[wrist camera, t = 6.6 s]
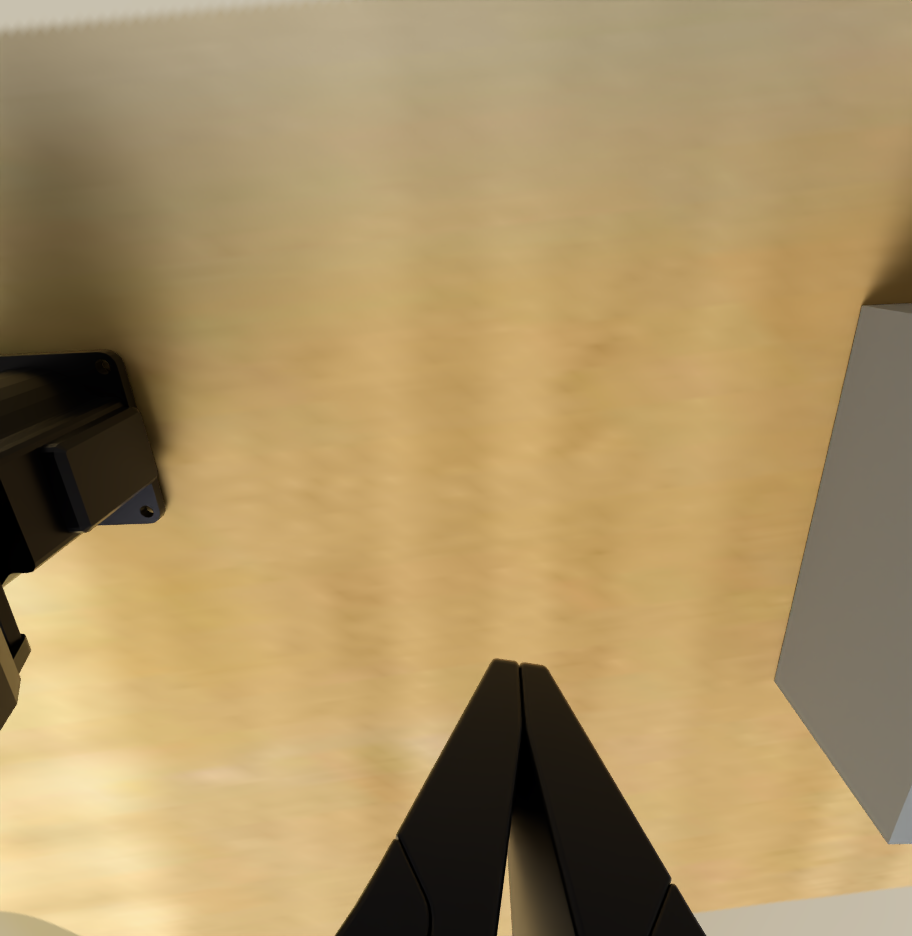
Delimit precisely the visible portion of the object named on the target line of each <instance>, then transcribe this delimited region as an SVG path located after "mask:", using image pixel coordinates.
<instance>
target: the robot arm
mask: <svg viewBox="0 0 912 936" xmlns="http://www.w3.org/2000/svg"><path fill="white" fill-rule="evenodd" d="M103 360H105V361H107V362H108V363H109V365H110V371H108V370H106V369H105V368H104V366H103V365H102V361H103ZM157 476H158V472H157V468H156V465H155V461H154V458H153V454H152V451H151V447H150V444H149V440H148V437H147V433H146V430H145V426H144V423H143V419H142V416H141V413H140V412H139V411H138V410H137V407H136V403H135V400H134V396H133V393H132V389H131V386H130V382H129V379H128V376H127V372H126V369H125V365H124V362H123V360H122V358H121V357H120V356H119V355H118V354H117V353H115V352H113V351H111V350H88V351H67V352H46V353H24V354H3V355H0V730H1V729H2V727H3V725H4V724H5V722H6V721H7V719H8V717H9V716H10V714H11V713H12V711H13V709H14V708H15V706H16V705H17V701H18V694H19V688H20V681H21V678H20V676H19V673H20V671H21V669H22V667H23V665H24V663H25V661H26V660H27V658H28V656H29V654H30V652H31V648H30V646H29V643H28V640H27V638H26V636H25V634H20V632H19V629H18V627H17V624H16V621H15V619H14V616H13V614H12V611H11V608H10V606H9V603H8V600H7V598H6V595H5V593H4V590H3V587H4V586H5V585H7V584H8V583H9V582H11V581H12V580H13V579H15V578H16V577H17V576H19V575H20V574H21V573H29V572H33V571H34V570H35V569H37V568H38V567H39V566H41V565H42V564H43V563H45V562H46V561H47V560H48V559H50V558H51V557H52V556H54V555H55V554H56V553H57V552H59V551H60V550H61V549H63V548H64V547H65V546H67V545H68V544H69V543H70V542H72V541H73V540H74V539H76V538H77V537H78V536H80V535H81V534H82V533H86V532H89V531H91V530H92V529H93V528H94V527H96V526H97V525H121V524H148V523H154V522H156V521H157V520H159V519H160V518H161V517H162V516H163V515H164V513H165V504H164V501H163V497H162V494H161V490H160V487H159V483H158V480H157ZM146 506H149V507H150V508H152V510H153V513H152V512H149V511H148V510H147V508H146ZM507 852H508V869H509V886H510V903H511V919H512V936H706V935H705V933H704V931H703V930H702V928H701V926H700V925H699V923H698V922H697V920H696V918H695V917H694V915H693V913H692V912H691V910H690V908H689V907H688V905H687V903H686V901H685V900H684V898H683V896H682V895H681V893H680V891H679V889H678V888H677V886H676V885H675V884H670V883H671V876H670V875H669V873H668V871H667V870H666V868H665V866H664V865H663V863H662V861H661V860H660V858H659V856H658V854H657V853H656V851H655V849H654V848H653V846H652V844H651V843H650V841H649V839H648V838H647V836H646V834H645V832H644V831H643V829H642V827H641V826H640V824H639V822H638V821H637V819H636V817H635V816H634V814H633V812H632V811H631V809H630V807H629V805H628V804H627V802H626V800H625V799H624V797H623V795H622V794H621V792H620V790H619V789H618V787H617V785H616V784H615V782H614V780H613V778H612V777H611V775H610V773H609V772H608V770H607V768H606V767H605V765H604V763H603V762H602V760H601V758H600V756H599V755H598V753H597V751H596V750H595V748H594V746H593V745H592V743H591V741H590V740H589V738H588V736H587V735H586V733H585V731H584V729H583V728H582V726H581V724H580V723H579V721H578V719H577V718H576V716H575V714H574V713H573V711H572V709H571V707H570V706H569V704H568V702H567V701H566V699H565V697H564V696H563V694H562V692H561V691H560V689H559V687H558V686H557V684H556V682H555V680H554V679H553V677H552V675H551V674H550V672H549V670H548V669H547V668H546V667H545V666H543V665H538V664H531V663H521V664H520V665H518V663H517V662H516V661H511V660H504V659H493V660H492V662H491V663H490V665H489V667H488V669H487V670H486V672H485V674H484V676H483V678H482V680H481V681H480V683H479V685H478V687H477V689H476V690H475V692H474V694H473V696H472V698H471V700H470V701H469V703H468V705H467V707H466V709H465V710H464V712H463V714H462V716H461V718H460V720H459V721H458V723H457V725H456V727H455V729H454V730H453V732H452V734H451V736H450V738H449V740H448V741H447V743H446V745H445V747H444V749H443V750H442V752H441V754H440V756H439V758H438V759H437V761H436V763H435V765H434V767H433V769H432V770H431V772H430V774H429V776H428V778H427V779H426V781H425V783H424V785H423V787H422V789H421V790H420V792H419V794H418V796H417V798H416V799H415V801H414V803H413V805H412V807H411V809H410V810H409V812H408V814H407V816H406V818H405V819H404V821H403V823H402V825H401V827H400V829H399V830H398V832H397V834H396V839H394V840H393V841H392V842H391V844H390V846H389V848H388V850H387V851H386V853H385V855H384V857H383V859H382V860H381V862H380V864H379V866H378V868H377V869H376V871H375V873H374V874H373V876H372V878H371V879H370V881H369V883H368V884H367V886H366V888H365V890H364V891H363V893H362V895H361V896H360V898H359V900H358V901H357V903H356V905H355V906H354V908H353V909H352V911H351V912H350V914H349V915H348V917H347V918H346V920H345V921H344V923H343V924H342V926H341V927H340V929H339V930H338V932H337V933H336V935H335V936H497V930H498V922H499V915H500V907H501V899H502V891H503V883H504V876H505V868H506V860H507Z"/></svg>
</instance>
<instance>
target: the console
mask: <svg viewBox="0 0 912 936" xmlns="http://www.w3.org/2000/svg"><path fill="white" fill-rule="evenodd" d="M774 681H775V683H776V684H777V686H778V687H779V689H780V690H781V691H782V693H783V694H784V696H785V697H786V699H787V700H788V701H789V703H790V704H791V706H792V707H793V709H794V710H795V712H796V713H797V714H798V716H799V717H800V719H801V720H802V722H803V723H804V724H805V726H806V727H807V729H808V730H809V732H810V733H811V734H812V736H813V737H814V739H815V740H816V742H817V743H818V744H819V746H820V747H821V749H822V750H823V752H824V753H825V754H826V756H827V757H828V759H829V760H830V762H831V763H832V765H833V766H834V767H835V769H836V770H837V772H838V773H839V775H840V776H841V777H842V779H843V780H844V782H845V783H846V785H847V786H848V787H849V789H850V790H851V792H852V793H853V795H854V796H855V797H856V799H857V800H858V802H859V803H860V805H861V806H862V808H863V809H864V810H865V812H866V813H867V815H868V816H869V818H870V819H871V820H872V822H873V823H874V825H875V826H876V828H877V829H878V830H879V832H880V833H881V835H882V836H883V838H884V839H885V840H886V842H887V843H888V844H912V303H903V304H882V305H862V308H861V312H860V317H859V321H858V325H857V329H856V334H855V338H854V342H853V347H852V351H851V355H850V359H849V364H848V368H847V372H846V377H845V381H844V385H843V389H842V394H841V398H840V402H839V406H838V411H837V415H836V419H835V424H834V428H833V432H832V436H831V441H830V445H829V449H828V454H827V458H826V462H825V466H824V471H823V475H822V479H821V484H820V488H819V492H818V496H817V501H816V505H815V509H814V513H813V518H812V522H811V526H810V531H809V535H808V539H807V543H806V548H805V552H804V556H803V561H802V565H801V569H800V573H799V578H798V582H797V586H796V591H795V595H794V599H793V603H792V608H791V612H790V616H789V621H788V625H787V629H786V633H785V638H784V642H783V646H782V650H781V655H780V659H779V663H778V668H777V672H776V676H775V680H774Z"/></svg>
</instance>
